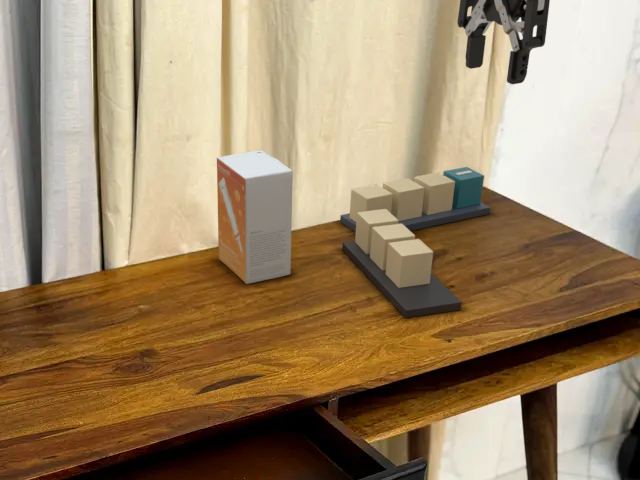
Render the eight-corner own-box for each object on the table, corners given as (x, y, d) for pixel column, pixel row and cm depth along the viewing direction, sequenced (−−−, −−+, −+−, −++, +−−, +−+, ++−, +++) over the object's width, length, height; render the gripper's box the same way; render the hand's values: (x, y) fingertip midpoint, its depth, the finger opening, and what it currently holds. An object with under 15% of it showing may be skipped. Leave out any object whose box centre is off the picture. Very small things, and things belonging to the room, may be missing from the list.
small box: (217, 260, 124) (215, 156, 116) (262, 251, 127) (263, 148, 119) (245, 285, 119) (244, 177, 111) (291, 275, 121) (294, 169, 113)
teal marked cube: (480, 204, 137) (484, 174, 134) (456, 209, 135) (460, 179, 133) (463, 194, 140) (466, 165, 137) (439, 199, 138) (443, 170, 136)
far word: (459, 197, 141) (463, 162, 138) (489, 214, 137) (495, 178, 133) (339, 222, 134) (341, 185, 131) (367, 240, 129) (370, 203, 126)
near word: (342, 249, 127) (344, 211, 124) (392, 243, 129) (395, 205, 126) (405, 318, 112) (409, 277, 109) (461, 310, 114) (466, 269, 111)
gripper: (450, -78, 118) (436, 66, 128) (525, -63, 108) (505, 92, 118) (500, -83, 120) (484, 59, 130) (579, -69, 110) (554, 84, 120)
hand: (494, 75), depth 124 cm, fingers open, 8 cm apart
